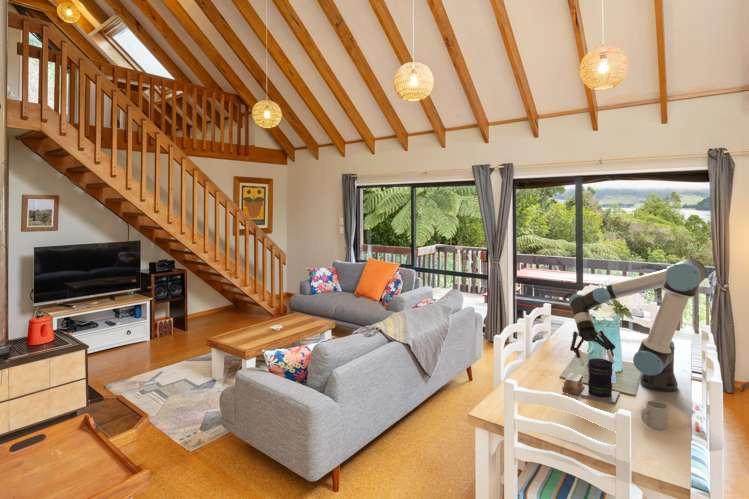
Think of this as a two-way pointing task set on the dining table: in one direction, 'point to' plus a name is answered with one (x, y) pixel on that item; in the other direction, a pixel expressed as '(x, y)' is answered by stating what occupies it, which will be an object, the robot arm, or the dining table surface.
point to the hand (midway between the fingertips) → (597, 363)
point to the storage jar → (600, 378)
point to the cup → (655, 415)
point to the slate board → (608, 400)
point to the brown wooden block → (573, 384)
